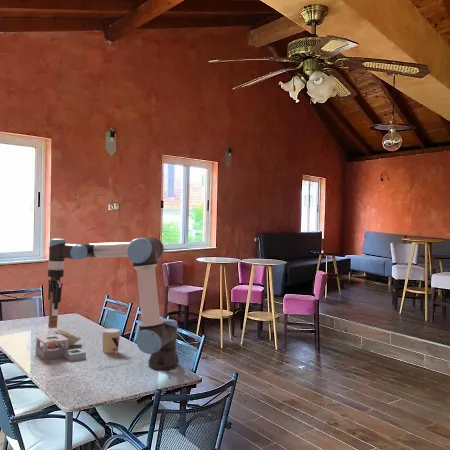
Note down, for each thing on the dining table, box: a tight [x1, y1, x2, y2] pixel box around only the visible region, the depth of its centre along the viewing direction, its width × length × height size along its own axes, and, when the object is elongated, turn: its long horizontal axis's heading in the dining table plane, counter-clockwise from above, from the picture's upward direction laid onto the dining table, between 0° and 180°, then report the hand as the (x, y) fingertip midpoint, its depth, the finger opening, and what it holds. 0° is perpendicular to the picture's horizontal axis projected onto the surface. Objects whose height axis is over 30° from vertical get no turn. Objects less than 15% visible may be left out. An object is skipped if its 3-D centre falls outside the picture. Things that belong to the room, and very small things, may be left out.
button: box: [48, 343, 56, 349], centre depth 220 cm, size 4×4×5 cm
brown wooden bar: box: [47, 292, 59, 329], centre depth 220 cm, size 3×3×18 cm
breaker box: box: [35, 333, 69, 361], centre depth 220 cm, size 12×12×10 cm
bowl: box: [53, 329, 81, 347], centre depth 238 cm, size 15×14×10 cm
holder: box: [63, 347, 87, 362], centre depth 218 cm, size 8×8×4 cm
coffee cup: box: [102, 327, 121, 355], centre depth 232 cm, size 9×9×12 cm
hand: (53, 314), depth 220 cm, fingers closed on brown wooden bar, 3 cm apart
